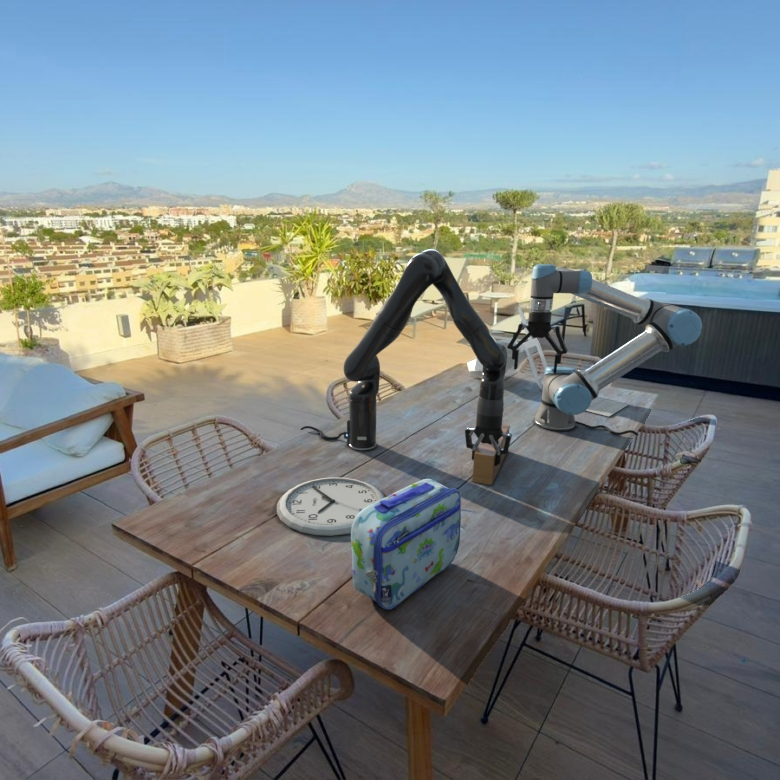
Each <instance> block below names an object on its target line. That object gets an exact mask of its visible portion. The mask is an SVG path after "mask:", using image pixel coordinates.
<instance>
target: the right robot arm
mask: <svg viewBox="0 0 780 780" xmlns="http://www.w3.org/2000/svg"><path fill="white" fill-rule="evenodd" d="M554 294H571V295H573V296H576V297H578V298H581V299H583V300H585V301H588V302H590V303H592V304H595V305H597V306H599V307H602V308H605V309H608V310H610V311H613V312H614V313H618V314H620V315H622V316H624V317H627V318H629V319H631V320H632V322H633V323H634V324H637V325H639V326H641V327H642V328H645V330H644V331H643V332H642V333H640V334H638V335H637V336H635V337H634V338H632V339H630V340H629V341H628V342H626V343H625V344H623V345H622V346H620V347H619V348H617V349H615V350H614V351H613V352H611V353H609V354H608V355H606V356H605V357H604V358H602V359H600V360H599V361H597V362H596V363H594V364H592V365H591V366H590V367H588V368H587V369H584V370H582V369H576V368H574V367H569V366H558V365H560V364H561V363H562V355H566V354H568V348H567V345H566V343H565V341H564V338H563V336H562V333H561V326H560V325H559V324H558V325H552V315H553V313H552V310H553V303H554ZM528 309H529V311H528V320H527V324H523V323H522V322H519V324H518V325H517V330H516V331H515V334H514V335H513V338H512V337H511V338H512V340H511V342H510V343H509V345H508V347H507V348H508V349H511V350H512V359H514V360H515V363H514V366H513V369H514V370H517V369H518V367H519V365H518V364H519V363H518V355H519V350H517V348H518V347H519V346H520V345H522V344H523V343H524V342H527V341H528V338H529V337H530V336H531V337H532V338H533V339H534V338H538V339H544V338H545V340H547V342H548V343H549V345H550V346H551V347H552V349H553V350H554V351H555V355H554V364H553V366H548V367H547V368H546V369H545V370H544V373H543V381H542V382H543V384H542V394H541V402H540V405H539V407H538V410H537V411H536V413H535V417H534V424H535V425H536V426H537V427H539V428H542V429H544V430H549V431H556V432H567V431H572V430H574V429H575V428H576V425H579V426H581V427H585V428H587V429H591V430H594V429H600V428H601V429H605V430H606V431H607V432H609V433H610V434H612V435H615V436H623V435H626V434H633V435H634V436H639V433H638V432H636V431H635V430H633V429H628V430H624V431H619V432H617V431H613V430H611V428H610V427H608V426H607V425H603V424H598V425H589V424H586V423H583V422H581V421H577V420H576V418H575V417H576V416H577V415H581V414H582V413H584V412H587V411H586V410H587V409H588V408H589V406H590V404H591V401H592V400H593V399H595V398H599V395H600V394H599V393H600V391H601V390H603V389H604V388H606V387H607V386H609V385H610V384H612V383H613V382H614V381H615V382H616V381H617V380H618V379H620V378H621V377H623V376H624V375H626V374H627V373H629V372H631V371H632V370H634V369H635V368H637V367H639V366H640V365H642V364H643V363H645V362H646V361H648V360H649V359H651V358H653V357H654V356H655V355H657V354H659V353H660V352H664V353H668V352H670V351H672V350H673V349H675V348H677V347H678V346H680V347H685V346H689V345H691V344H693V343H694V342H696V341H697V340H698V338H699V337H700V336H701V333H702V329H703V323H702V319H701V317H700V316H699V315H698V314H697V313H696V312H695V311H692V309H689V308H687V307H686V308H684V307H680V306H677V305H674V304H670V303H665V302H661V301H656V300H653V299H650V298H648V297H645V298H640V297H638V296H635V295H634V294H630V293H628V292H626V291H623V290H620V289H618V288H615V287H613V286H611V285H609V284H606V283H603V282H601V281H598V280H596V279H594V278H593V275H592V272H591V271H589V270H574V269H571V268H567V267H565V266H560V267H557V265H555V264H552V263H551V264H550V263H549V264H547V263H538V264H535V265H534V266H533V268H532V273H531V285H530V297H529V307H528ZM524 328H527V330H528V332H529V333H528V334H527V335H526V334H525V336H524V337H522V338H521V339H520V340H519V341H517V342H518V343H517V344H516V345H515V346H513V344H514V342H515V341H516V340H518V337H519V336H520V334H521V332H522V331H525V329H524ZM551 331H553V333H555V335H556V338H557V341H558V344H559V345H560V347H559V345H558V344H557V342H556V341H555V340H554V339H553V337H552V335H551V334H550V332H551Z"/></svg>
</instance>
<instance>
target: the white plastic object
mask: <svg viewBox="0 0 780 780" xmlns="http://www.w3.org/2000/svg"><path fill="white" fill-rule="evenodd" d="M517 311H518V314H519V318H520V319H521V323H523V324H528V321H527V319H526V316H525V313H524V312H523V309H522V307H521V306H519V307H517ZM524 332H525V336H526V335H527V334H528V333H529V332H528V330H527V328H524ZM490 335H491V336H492V338H493V339H494V341H495V342H497V343H501V344H502V345H503V346H504V347H505V348H506V350H507V364H506V371H505V374H507V373H508V372H509V370H510V369H512V368H514V363H515V360H514V359H512V350H511V349H508V348H507V347H508V345H509V343H510V342H511V340H512V338H513V337H514V336H513V337H508V338H504V339H499V340H496V339H495V338H494V336H493V335H492V334H491V333H490ZM517 340H518V339H516V341H515V342H514V344H513V346H515V345H516V344H517V343H518V342H519V341H517ZM517 350H519V355H518V364H519V363H520V362H521V361H523V360H525V359H526V357H527V360H528V363H529V367H530V369H531V372H532V375H533V379H534V382H535V384H536V385H537V386H538V388H539V389H540V390H543V385H542V382H541V380H540V377H539V374H538V371H537V368H536V365H535V361H534V358H533V355H532V354H535V353H537V352H538V355H539V358H540V360H541V364H542V367H543V369H544V371H545V369H546V368H547V367H549V366H548V363H547V359H546V357H545V354H544V352H543V351H544V350H543V348H542V346H541V343H540V340H539V338H538V337H536V338H534V337H532V336H530V337H529V338H528V339H527V340H526V341H525V342H524V343H523V344H522V345H520V346H519V347H518V348H517ZM466 365H467V369H468V373H469V374H470V375H471V376H472V377H473V378H476V377H482V371H483V365H482V364H481V363H480V362H479V360H478V358H477V357H476V358H475V359H473V360H470V361H468V362H466Z"/></svg>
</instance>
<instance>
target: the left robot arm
mask: <svg viewBox="0 0 780 780" xmlns="http://www.w3.org/2000/svg"><path fill="white" fill-rule="evenodd" d="M431 286H433V287H434V288H435V289H436V290H437V291H438V293H439V294H440V296H441V297H442V299H443V301H444V302H445V305H446V307H447V310H448V313H449V316H450V318H451V320H452V322H453V324H454V326H455V327H456V329H457V330H458V331H459V333H460V334H461V336H462V337H463V338H464V339H465V341H466V342H467V343H468V344H469V346H470V348H471V350H472V351H473V353H474V355H475V357H476V359H477V358H478V360H479V362H480V363H481V364H482V365H483V371H482V376H481V378H480V381H479V382H480V383H479V391H478V392H479V393H478V399H477V404H476V405H477V407H476V421H475V427H474V428H473V427H470V426H468V427H466V429H465V430H464V437H465V445H466V448H467V449H470V450H471V460H472V461H474V453H475V451H476V450H477V448H478V446H479V445H480V443H481V442H482V443H487V444H490V445H493V448H494V449H495V451H496V457H495V466H497V465H499V464H500V462H501V454H506V455H507V454H508V451H509V448H510V445H511V440H512V437H513V435H512V433H510V432H509V434H506V433H503V431H502V424H503V416H504V410H505V409H504V405H505V404H504V396H505V377H506V373H505V371H506V364H507V350H506V348H505V347H504V346H503V345H502V344H501V343H497V342H495V341H494V339H495V338H494V337H493V338H494V339H493V338H492V336H493V335H492V334H491V332H490V329H489V327H488V326H487V324H486V323H485V321H484V320H483V319H482V317H481V316H480V315H479V313H478V312H477V311H476V310H475V308H474V307H473V306H472V304H471V303H470V301H469V300H468V298H467V296H466V294H465V293H464V292H463V290H462V288H461V287H460V286H461V285H460V284H459V283H458V281H457V279H456V278H455V276H454V274H453V272H452V269H451V268H450V266H449V263H448V262H447V260H446V259H445V257H444V256H443V254H442V253H440V252H439V251H438V250H436V249H425V250H423V251H421V252H419V253H418V254H417V253H416V254H414V255H413V257H411V258H410V259H409V260H408V262H407V264H406V266H405V268H404V270H403V272H402V274H401V276H400V278H399V280H398V282H397V284H396V286H395V288H394V290H393V291H391V294H390V295H389V296H388V298H387V299H386V301H384V303H383V305H382V306H381V308H380V309H379V311H378V312H377V314H376V316H375V317H374V319H373V320H372V322H371V324H370V325H369V327H368V328H367V330H366V331H365V333H364V334H363V336H362V337H361V339H360V341H359V342H358V343H357V345H356V346H355V347H353V349H352V350H351V352H350V353H349V354H348V355H347V356H346V358H345V360H344V363H343V373H344V376H345V378H346V379H347V380H349V381H350V382H353V383H354V382H355V383H356V384H355V385H354V386H353V387H352V388H351V389H350V390H349V393H348V398H349V399H348V409H349V413H348V414H349V417H348V419H346V430H344V431H342V432H340V433H339V434H338V435H337V436H325V435H323V431H322V430H320V429H319V428H316V427H315V426H311V425H304V426H302V427H301V428H300V429H299V430H300V431H304V430H305V429H310V430H313V431H315V432H317V433H319V437H320V438H321V439H323V440H329V441H331V440H338V439H340V438H341V437H342V436H343V439H345V440H346V446H347V447H349V448H350V449H352V450H354V451H360V452H364V451H365V452H366V451H372V450H374V449H375V448H376V447H377V395H378V393H379V389H380V377H381V364H380V360H379V359H380V358H379V357H378V355H379V354H380V353H381V352H382V351H383V350H385V349H386V348H388V347H389V346H390V345H392V344H393V343H394V342H395V341H396V340H397V339H398V338H399V337H400V335H401V333H402V332H403V331H404V329H405V328H406V326H407V325H408V323H409V321H410V319H411V315H412V313H413V309H414V306H415V305H416V303H417V301H418V300H419V299H420V298H421V296H422V295H423V294H424V293H425V292H426V291H427V289H428V288H430V287H431ZM490 334H491V335H492V336H491V335H490ZM473 434H474V435H475V436H476V438H477V440H476V441H475V443H473V439H472V438H473V437H472V436H473ZM501 437H503V440H504V441H505V445H504V448H503V449H501V446H500V443H499V439H500V438H501Z"/></svg>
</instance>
